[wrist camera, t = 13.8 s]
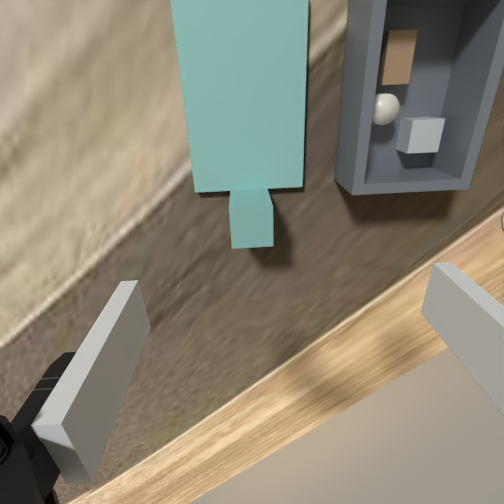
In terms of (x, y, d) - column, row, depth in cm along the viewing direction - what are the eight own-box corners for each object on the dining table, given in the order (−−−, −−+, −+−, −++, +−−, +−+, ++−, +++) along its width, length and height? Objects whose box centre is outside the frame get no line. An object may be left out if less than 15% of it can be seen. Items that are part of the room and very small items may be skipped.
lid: (172, 1, 27) (152, -28, 20) (306, -5, 27) (327, -35, 21) (200, 223, 36) (192, 250, 30) (299, 218, 36) (312, 244, 30)
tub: (348, -5, 27) (376, -29, 22) (473, -10, 27) (531, -35, 22) (334, 179, 34) (352, 195, 29) (432, 174, 34) (468, 189, 29)
